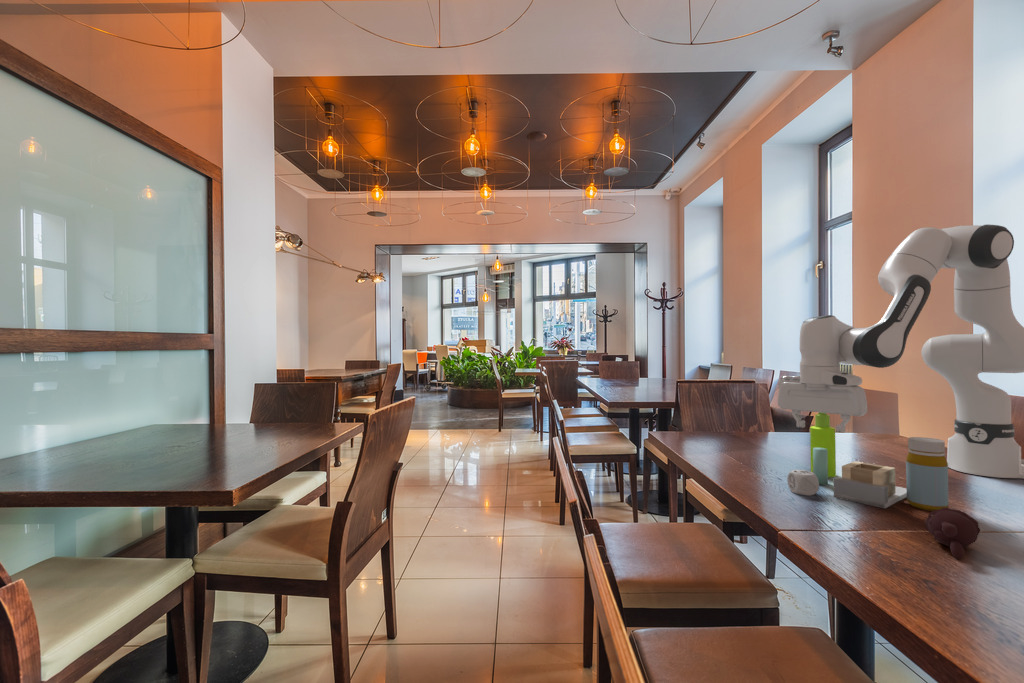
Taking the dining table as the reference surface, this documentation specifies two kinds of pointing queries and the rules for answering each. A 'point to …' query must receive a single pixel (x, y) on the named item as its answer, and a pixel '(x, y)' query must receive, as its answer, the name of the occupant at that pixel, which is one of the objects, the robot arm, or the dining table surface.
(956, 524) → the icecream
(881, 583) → the dining table surface
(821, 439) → the soap dispenser
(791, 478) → the die
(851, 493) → the grey l-shaped tray
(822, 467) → the dowel
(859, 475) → the block
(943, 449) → the bottle
